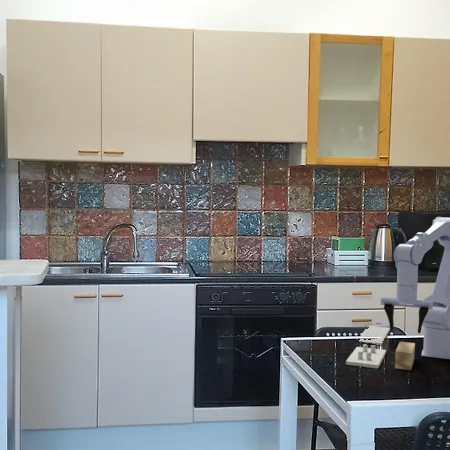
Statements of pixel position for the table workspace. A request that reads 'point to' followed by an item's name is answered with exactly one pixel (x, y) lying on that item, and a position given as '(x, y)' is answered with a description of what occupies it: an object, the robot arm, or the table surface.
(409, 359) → the tan block
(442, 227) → the robot arm
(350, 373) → the table surface
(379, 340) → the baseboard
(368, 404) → the table surface
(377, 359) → the peg rack
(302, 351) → the table surface
